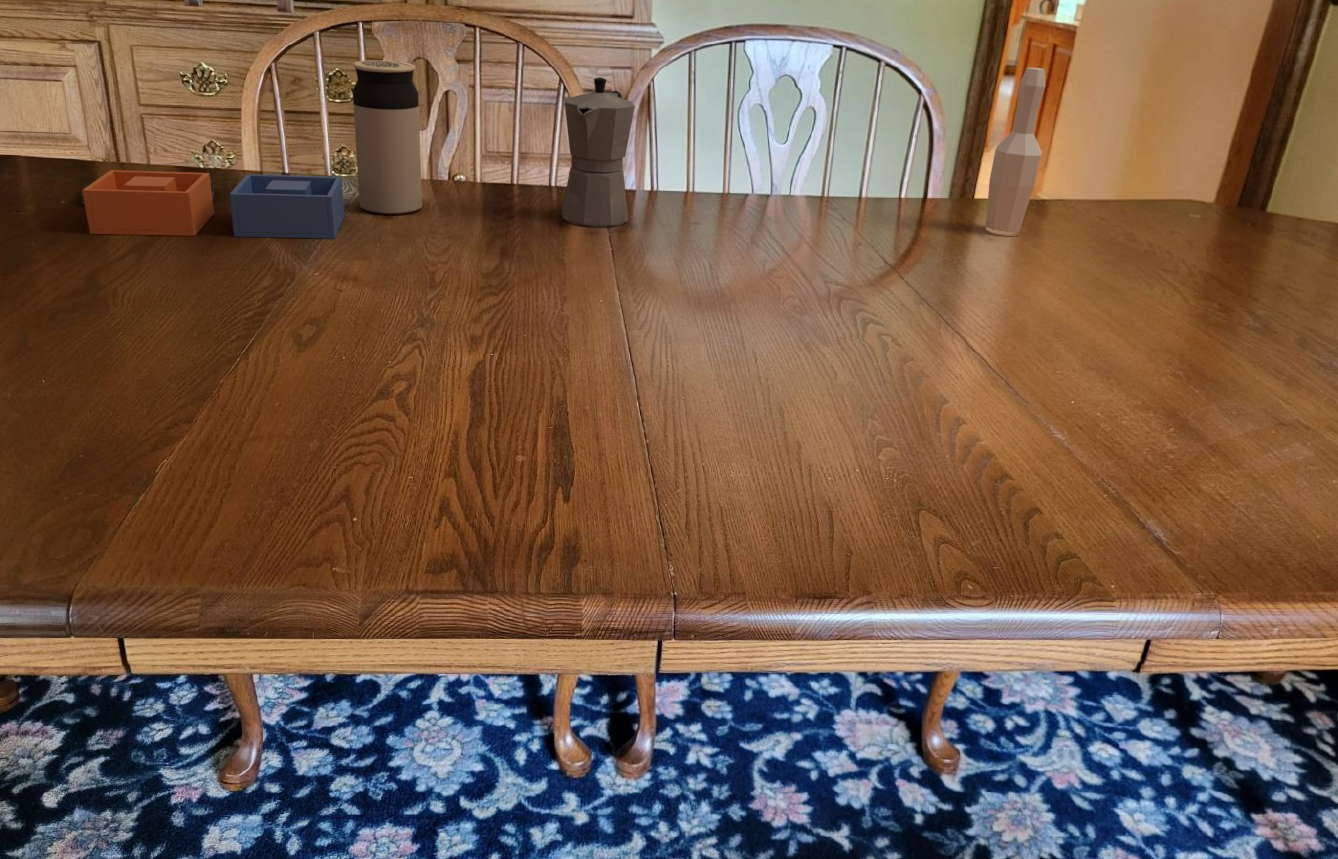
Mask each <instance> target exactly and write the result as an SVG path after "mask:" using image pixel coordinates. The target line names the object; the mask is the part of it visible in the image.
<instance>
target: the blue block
mask: <svg viewBox="0 0 1338 859" xmlns="http://www.w3.org/2000/svg"><path fill="white" fill-rule="evenodd" d="M265 193H266V194H296V195H312V193H311V182H310V181H281V180H272V181H271V182H270V183H269V185H268V186H267V187H266V189H265Z"/></svg>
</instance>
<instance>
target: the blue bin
mask: <svg viewBox="0 0 1338 859" xmlns="http://www.w3.org/2000/svg"><path fill="white" fill-rule="evenodd" d="M272 180H281V181H310V182H311V193H312V195H296V194H266V193H265V189H266V187H267V186H268V185H269V183H270V182H271V181H272ZM229 201H230V202H229V203H230V210H231V218H232V220H231V221H232V227H233V228H232V229H233V237H234V238H236V237H237V238H276V239H277V238H280V239H281V238H282V239H283V238H284V239H332V240H334V239H336V237H337V234H338V232H339V229H340V227H341V225H342V223H343V220H344V218H345V208H344V207H345V206H344V190H343V177H342V176H322V175H321V176H320V175H286V174H285V175H284V174H279V175H278V174H255V173H254V174H253V173H252V174H251V173H246V174H245V175H244V177H243V178H242V179H241V180H240V181H239V182H238V184H237V185H236V186H235V187H233V189H232V190H231V192H230V193H229Z"/></svg>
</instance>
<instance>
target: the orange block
mask: <svg viewBox="0 0 1338 859" xmlns="http://www.w3.org/2000/svg"><path fill="white" fill-rule="evenodd" d="M123 186H124V190H146V191H177V189H176V182H175V178H174V177H140V176H135V177H133V178H132V179H131V180H129V181H128V182H127V183H125V184H124V185H123Z"/></svg>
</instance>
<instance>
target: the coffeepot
mask: <svg viewBox="0 0 1338 859" xmlns="http://www.w3.org/2000/svg"><path fill="white" fill-rule="evenodd" d="M593 82H594V89H595V90H594V92H588V93H584V94H579V95H575V96H569V97H565V98H563V99H564V100H563V101H564V110H565V111H564V112H565V118H566V119H565V120H566V129H567V138H568V139H567V140H568V148H569V154H570V155H571V163H570V166H571V167H570V168H569V172H568V177H567V182H566V188H565V194H564V199H563V205H562V210H561V214H562V219H563V220H564V221H565V222H567V223H570V224H572V225H576V226H582V227H589V228H590V227H591V228H612V227H618V226H622V225H624V224H626V223H628V222H629V211H628V203H627V194H626V186H625V185H626V184H625V176H624V170H623V158H625V157H626V155H627V149H628V145H629V138H630V134H631V128H632V122H633V118H634V113H635V108H636V106H635V105H634V103H633V101H631V100H628V99H626V98H625V99H624V98H623V97H622V93H621V92H620V91H618V90H613V91H611V92H605V89H606V85H607V79H606V78H604V77H596V78H593Z"/></svg>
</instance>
